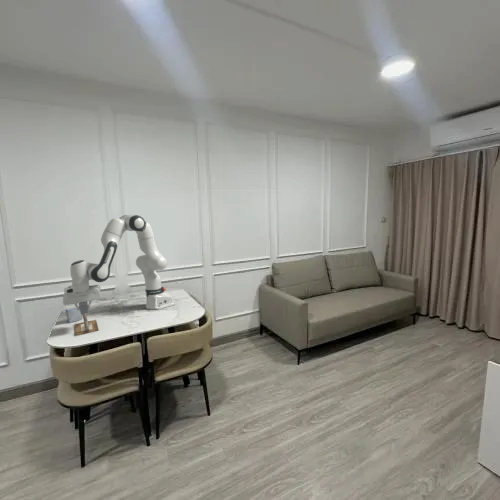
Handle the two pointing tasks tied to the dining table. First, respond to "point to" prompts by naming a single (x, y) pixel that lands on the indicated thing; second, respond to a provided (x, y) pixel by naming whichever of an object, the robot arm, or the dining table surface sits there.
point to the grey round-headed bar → (83, 307)
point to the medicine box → (73, 315)
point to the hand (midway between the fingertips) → (83, 308)
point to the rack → (86, 326)
